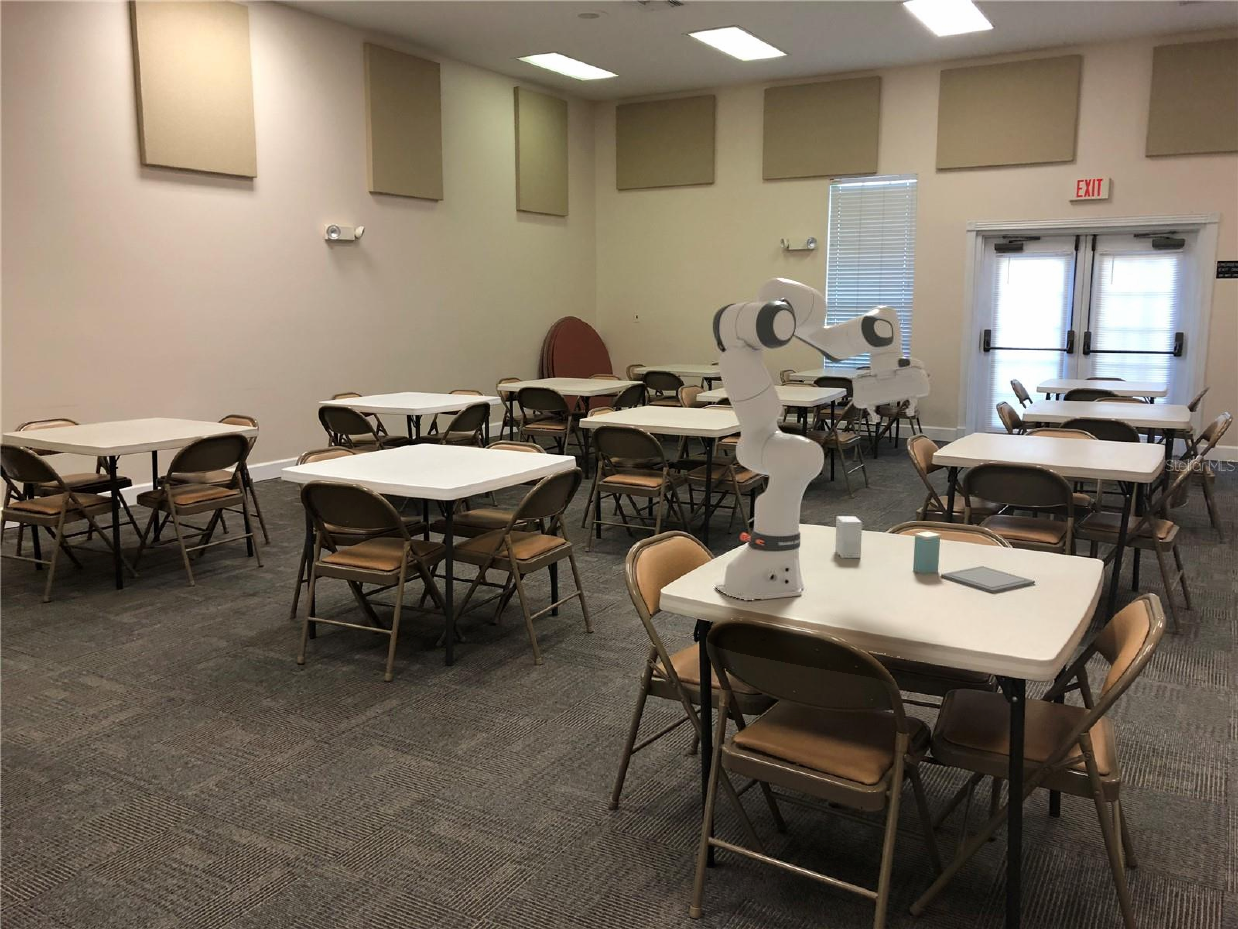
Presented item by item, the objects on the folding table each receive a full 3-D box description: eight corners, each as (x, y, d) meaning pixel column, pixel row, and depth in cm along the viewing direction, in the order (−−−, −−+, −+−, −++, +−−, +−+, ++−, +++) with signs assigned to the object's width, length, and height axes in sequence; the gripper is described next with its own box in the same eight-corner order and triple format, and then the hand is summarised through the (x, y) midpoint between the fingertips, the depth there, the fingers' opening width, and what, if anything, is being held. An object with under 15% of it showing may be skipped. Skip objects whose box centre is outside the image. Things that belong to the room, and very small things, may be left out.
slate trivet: (992, 593, 221) (993, 589, 220) (940, 577, 234) (941, 573, 234) (1034, 584, 228) (1035, 580, 228) (982, 569, 242) (982, 565, 242)
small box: (860, 558, 253) (862, 522, 251) (841, 558, 253) (842, 522, 251) (854, 551, 261) (855, 515, 259) (834, 551, 261) (836, 515, 259)
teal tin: (924, 574, 237) (927, 537, 235) (912, 570, 241) (914, 533, 239) (938, 571, 239) (940, 534, 238) (926, 568, 243) (928, 531, 241)
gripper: (846, 374, 243) (851, 424, 241) (919, 357, 229) (925, 410, 227) (857, 377, 247) (862, 426, 245) (929, 361, 234) (935, 413, 232)
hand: (893, 418), depth 236 cm, fingers open, 8 cm apart
